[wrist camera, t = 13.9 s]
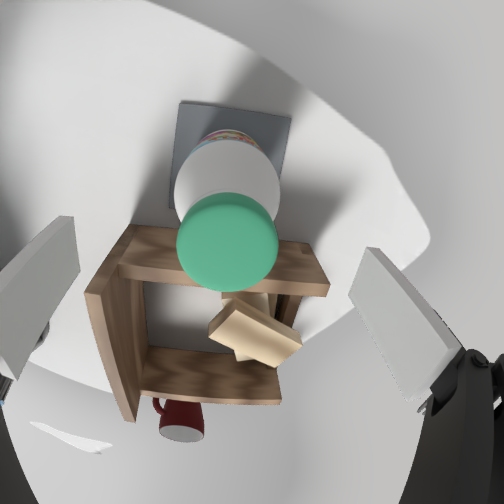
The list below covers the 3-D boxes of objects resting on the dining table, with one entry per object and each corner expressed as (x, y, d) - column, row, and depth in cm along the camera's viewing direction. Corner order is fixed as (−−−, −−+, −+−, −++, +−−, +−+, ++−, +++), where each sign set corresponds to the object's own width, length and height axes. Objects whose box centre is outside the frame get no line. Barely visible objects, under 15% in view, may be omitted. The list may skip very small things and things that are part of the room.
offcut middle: (236, 349, 42) (236, 361, 39) (221, 287, 36) (221, 299, 34) (271, 343, 42) (274, 356, 40) (264, 280, 36) (267, 292, 34)
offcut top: (272, 354, 39) (274, 367, 37) (208, 323, 35) (208, 337, 33) (299, 332, 38) (302, 345, 35) (234, 296, 34) (235, 309, 31)
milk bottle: (255, 201, 32) (289, 325, 15) (187, 191, 31) (141, 309, 13) (269, 135, 28) (336, 183, 11) (197, 124, 27) (144, 152, 10)
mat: (169, 206, 32) (169, 207, 32) (179, 103, 26) (179, 103, 26) (270, 218, 34) (271, 219, 33) (290, 118, 28) (291, 118, 28)
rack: (140, 350, 43) (124, 420, 31) (129, 224, 32) (83, 292, 20) (272, 361, 46) (284, 431, 34) (308, 243, 36) (347, 316, 24)
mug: (146, 386, 48) (139, 428, 40) (165, 368, 46) (158, 415, 37) (191, 404, 52) (189, 445, 43) (212, 389, 50) (213, 434, 41)
